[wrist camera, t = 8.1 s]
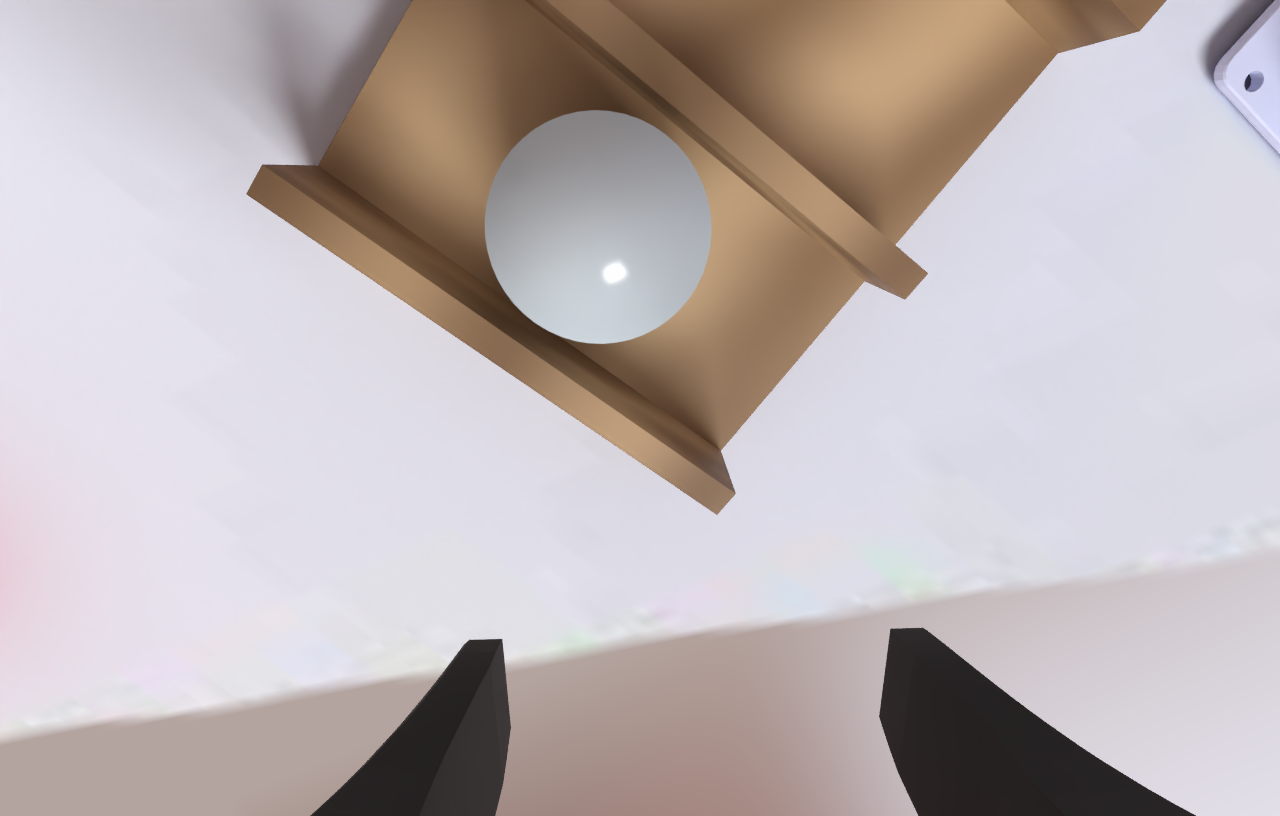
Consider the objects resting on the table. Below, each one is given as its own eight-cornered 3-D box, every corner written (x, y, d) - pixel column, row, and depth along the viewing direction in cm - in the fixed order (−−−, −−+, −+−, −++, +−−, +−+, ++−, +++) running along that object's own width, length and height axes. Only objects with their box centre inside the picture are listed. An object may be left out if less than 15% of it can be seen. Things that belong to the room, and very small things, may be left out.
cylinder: (703, 153, 18) (739, 144, 13) (662, 310, 20) (678, 365, 14) (543, 110, 18) (506, 81, 12) (512, 274, 19) (467, 316, 14)
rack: (1057, 33, 19) (1168, -2, 15) (701, 457, 22) (717, 515, 19) (649, -384, 16) (657, -562, 12) (319, 189, 19) (246, 194, 16)
